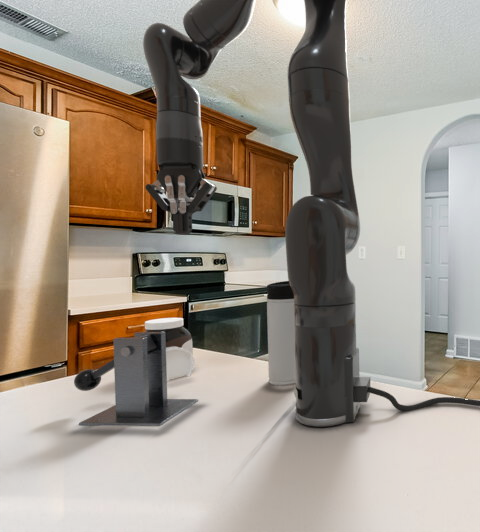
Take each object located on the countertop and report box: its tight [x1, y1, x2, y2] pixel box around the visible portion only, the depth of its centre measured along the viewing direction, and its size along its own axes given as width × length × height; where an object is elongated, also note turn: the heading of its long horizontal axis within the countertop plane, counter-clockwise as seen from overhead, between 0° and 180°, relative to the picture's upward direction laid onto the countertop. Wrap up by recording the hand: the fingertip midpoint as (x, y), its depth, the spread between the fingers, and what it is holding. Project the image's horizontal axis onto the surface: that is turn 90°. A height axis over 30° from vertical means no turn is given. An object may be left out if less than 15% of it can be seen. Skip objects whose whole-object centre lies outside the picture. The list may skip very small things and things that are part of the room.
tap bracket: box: [78, 331, 199, 427], centre depth 57 cm, size 12×9×13 cm
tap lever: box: [73, 334, 157, 392], centre depth 57 cm, size 13×3×3 cm
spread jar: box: [144, 317, 196, 383], centre depth 76 cm, size 12×11×12 cm
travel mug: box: [266, 280, 296, 387], centre depth 71 cm, size 6×7×20 cm
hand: (183, 234), depth 70 cm, fingers closed
